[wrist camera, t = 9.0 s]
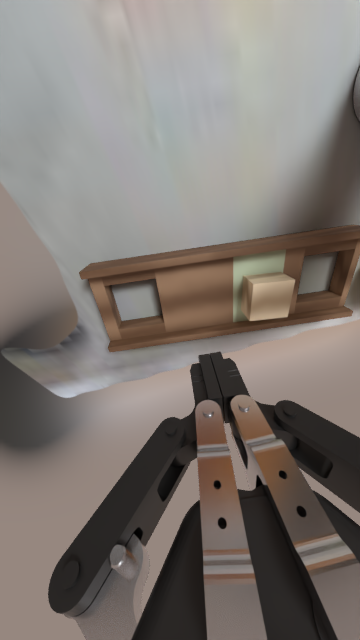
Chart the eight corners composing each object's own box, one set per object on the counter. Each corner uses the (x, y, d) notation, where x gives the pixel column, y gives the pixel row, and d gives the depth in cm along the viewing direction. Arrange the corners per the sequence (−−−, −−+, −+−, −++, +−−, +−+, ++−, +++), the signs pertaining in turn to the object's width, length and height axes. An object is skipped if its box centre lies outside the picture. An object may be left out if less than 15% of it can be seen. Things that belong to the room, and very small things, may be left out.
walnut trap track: (90, 263, 32) (78, 272, 27) (351, 224, 32) (381, 227, 28) (115, 336, 39) (109, 352, 34) (330, 303, 39) (351, 316, 34)
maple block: (243, 275, 31) (253, 284, 28) (280, 271, 32) (295, 279, 28) (240, 309, 34) (249, 321, 31) (275, 306, 35) (287, 317, 31)
